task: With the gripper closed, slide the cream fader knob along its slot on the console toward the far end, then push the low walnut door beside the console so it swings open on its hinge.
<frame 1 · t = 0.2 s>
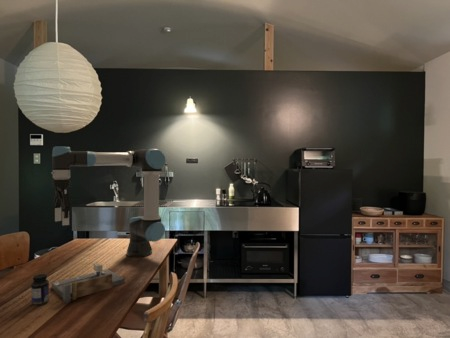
hand: (61, 223, 149), 28 cm above the table, fingers open, 13 cm apart
pill bottle: (40, 303, 125), on the table
hinge bracket: (66, 301, 126), on the table
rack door: (92, 285, 134), point 4 cm above the table, hinge at 0.0°
fader knob: (98, 269, 150), point 5 cm above the table, slide at 0.0 cm
console: (88, 285, 143), on the table
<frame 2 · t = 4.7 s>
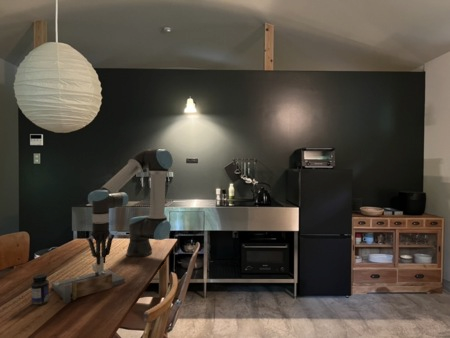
hand: (100, 270, 151), 4 cm above the table, fingers closed
fader knob: (96, 269, 150), point 5 cm above the table, slide at 0.6 cm, touching gripper
everything else where it was.
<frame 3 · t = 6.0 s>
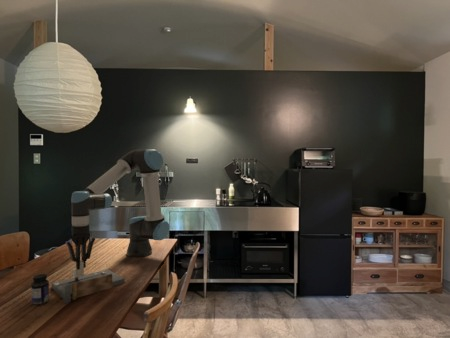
hand: (80, 275, 145), 4 cm above the table, fingers closed
fader knob: (76, 274, 143), point 5 cm above the table, slide at 10.0 cm, touching gripper
everything else where it was.
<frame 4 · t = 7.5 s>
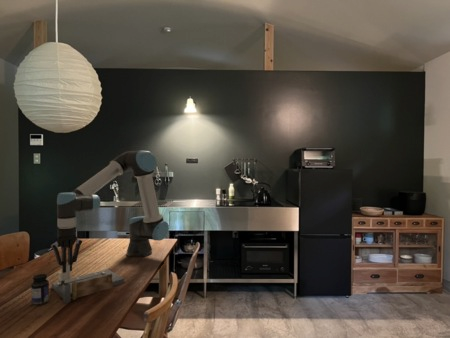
hand: (67, 278, 141), 4 cm above the table, fingers closed
fader knob: (62, 277, 139), point 5 cm above the table, slide at 15.9 cm, touching gripper
everything else where it was.
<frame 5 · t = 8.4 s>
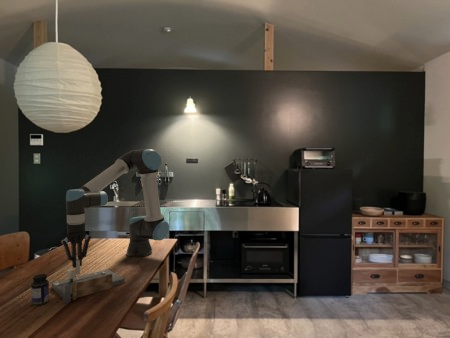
hand: (77, 273, 144), 5 cm above the table, fingers closed
fader knob: (71, 275, 142), point 5 cm above the table, slide at 12.2 cm
everything else where it was.
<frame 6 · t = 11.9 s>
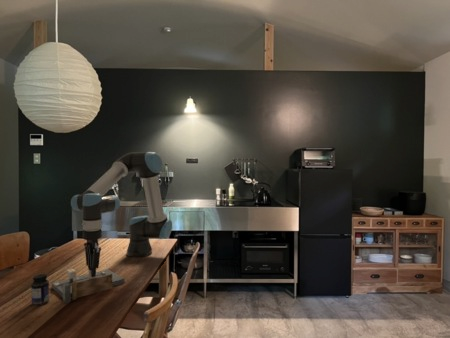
hand: (92, 283, 135), 4 cm above the table, fingers closed
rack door: (92, 285, 134), point 3 cm above the table, hinge at 0.4°, touching gripper
everything else where it was.
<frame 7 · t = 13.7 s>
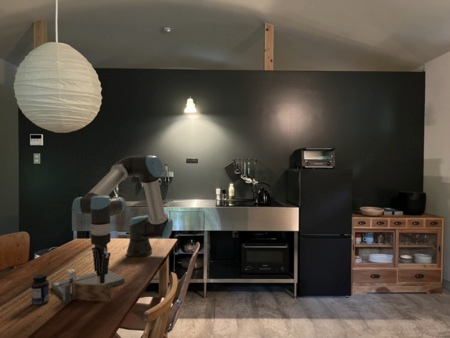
hand: (101, 289, 129), 4 cm above the table, fingers closed
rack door: (91, 292, 127), point 4 cm above the table, hinge at 54.0°, touching gripper
everything else where it was.
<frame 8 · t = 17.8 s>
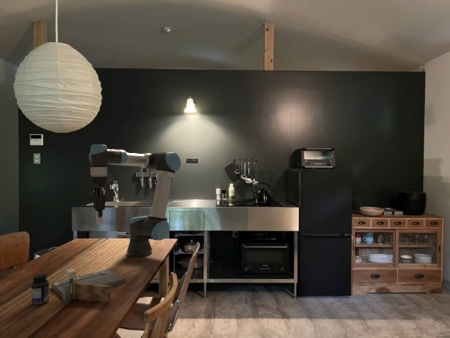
hand: (99, 223, 154), 26 cm above the table, fingers closed
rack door: (91, 292, 127), point 4 cm above the table, hinge at 54.0°
everything else where it was.
at the end: fader knob slide at 12.2 cm; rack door at +54° (first picture: +0°) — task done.
